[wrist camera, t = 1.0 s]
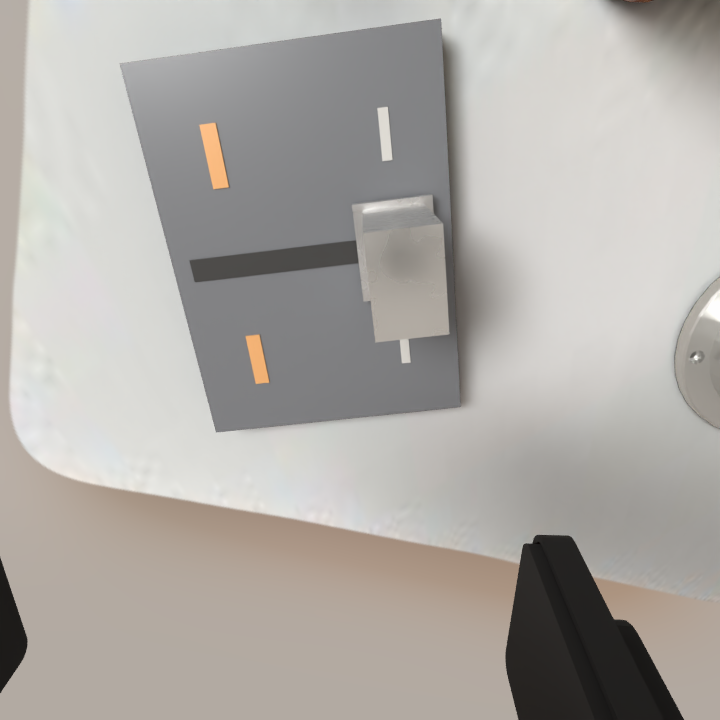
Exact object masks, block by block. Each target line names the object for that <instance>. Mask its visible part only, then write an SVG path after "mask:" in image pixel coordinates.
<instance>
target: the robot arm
mask: <svg viewBox="0 0 720 720" xmlns="http://www.w3.org/2000/svg"><path fill="white" fill-rule="evenodd" d="M675 373H676V378H677V382H678V385H679V389H680V391H681V393H682V395H683V396H684V398H685V400H686V402H687V403H688V404H689V405H690V406H691V407H692V409H693V410H694V411H695V412H696V413H697V414H698V415H700V416H701V417H702V418H704V419H705V420H706V421H708V422H709V423H710V424H711V425H713V426H715V427H717V428H719V429H720V277H719V278H718V279H717V280H716V281H715V282H714V283H713V284H711V285H710V286H709V288H708V289H707V290H706V291H705V293H704V294H703V295H702V296H701V297H700V299H699V300H698V301H697V302H696V304H695V305H694V307H693V309H692V310H691V312H690V314H689V315H688V317H687V319H686V320H685V323H684V325H683V328H682V331H681V333H680V336H679V338H678V343H677V349H676V354H675ZM26 649H27V636H26V634H25V630H24V627H23V625H22V622H21V618H20V615H19V612H18V609H17V606H16V603H15V600H14V597H13V594H12V591H11V588H10V585H9V582H8V579H7V577H6V574H5V571H4V567H3V564H2V561H1V559H0V693H1V691H2V690H3V688H4V687H5V685H6V684H7V682H8V681H9V679H10V678H11V676H12V675H13V673H14V672H15V670H16V669H17V668H18V666H19V665H20V663H21V661H22V660H23V658H24V655H25V653H26ZM506 669H507V675H508V679H509V683H510V687H511V691H512V695H513V699H514V703H515V707H516V711H517V715H518V719H519V720H684V719H683V717H682V715H681V713H680V711H679V710H678V708H677V706H676V704H675V702H674V700H673V698H672V697H671V695H670V693H669V691H668V689H667V687H666V685H665V684H664V682H663V680H662V678H661V676H660V674H659V672H658V670H657V669H656V667H655V665H654V663H653V661H652V659H651V657H650V655H649V654H648V652H647V650H646V648H645V646H644V644H643V642H642V640H641V639H640V637H639V635H638V633H637V632H636V630H635V629H634V627H633V626H632V625H631V624H629V623H628V622H627V621H625V620H614V619H613V617H612V615H611V613H610V611H609V609H608V607H607V605H606V603H605V601H604V599H603V597H602V595H601V594H600V591H599V589H598V587H597V585H596V583H595V581H594V579H593V577H592V575H591V573H590V571H589V569H588V567H587V565H586V563H585V561H584V559H583V557H582V555H581V553H580V551H579V549H578V547H577V545H576V543H575V542H574V540H573V538H572V537H570V536H559V535H536V536H535V537H534V540H533V543H532V544H524V545H523V549H522V554H521V560H520V567H519V573H518V579H517V585H516V592H515V598H514V604H513V610H512V616H511V622H510V628H509V635H508V641H507V647H506Z"/></svg>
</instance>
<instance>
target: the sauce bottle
mask: <svg viewBox="0 0 720 720" xmlns="http://www.w3.org/2000/svg"><path fill="white" fill-rule="evenodd" d="M624 1H628V2H650V1H653V0H624Z"/></svg>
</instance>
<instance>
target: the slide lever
mask: <svg viewBox="0 0 720 720" xmlns="http://www.w3.org/2000/svg"><path fill="white" fill-rule="evenodd" d="M352 211H353V219H354V227H355V236H356V244H357V252H358V260H359V269H360V277H361V285H362V293H363V301H364V302H365V301H371V309H372V317H373V326H374V334H375V343H376V342H385V341H394V340H403V339H412V338H421V337H430V336H439V335H448V334H449V318H448V301H447V283H446V265H445V248H444V230H443V223H442V222H441V221H440V220H439V219H438V218H437V217H436V216H435V215H434V211H433V195H432V194H426V195H418V196H410V197H402V198H394V199H386V200H378V201H370V202H362V203H353V204H352Z"/></svg>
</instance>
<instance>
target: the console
mask: <svg viewBox="0 0 720 720" xmlns="http://www.w3.org/2000/svg"><path fill="white" fill-rule="evenodd" d="M120 67H121V71H122V74H123V78H124V82H125V86H126V90H127V93H128V97H129V101H130V105H131V109H132V113H133V116H134V120H135V124H136V128H137V132H138V136H139V139H140V143H141V147H142V151H143V155H144V158H145V162H146V166H147V170H148V174H149V178H150V181H151V185H152V189H153V193H154V197H155V200H156V204H157V208H158V212H159V216H160V220H161V223H162V227H163V231H164V235H165V239H166V243H167V246H168V250H169V254H170V258H171V262H172V265H173V269H174V273H175V277H176V281H177V285H178V288H179V292H180V296H181V300H182V304H183V307H184V311H185V315H186V319H187V323H188V327H189V330H190V334H191V338H192V342H193V346H194V350H195V353H196V357H197V361H198V365H199V369H200V372H201V376H202V380H203V384H204V388H205V392H206V395H207V399H208V403H209V407H210V411H211V414H212V418H213V422H214V426H215V430H216V432H225V431H234V430H244V429H254V428H263V427H273V426H283V425H292V424H302V423H312V422H321V421H331V420H340V419H350V418H360V417H369V416H379V415H389V414H398V413H408V412H418V411H427V410H437V409H447V408H456V407H461V405H460V385H459V365H458V345H457V325H456V306H455V286H454V266H453V246H452V226H451V207H450V187H449V167H448V147H447V127H446V108H445V88H444V68H443V48H442V28H441V19H434V20H426V21H419V22H412V23H405V24H398V25H391V26H384V27H377V28H370V29H362V30H355V31H348V32H341V33H334V34H327V35H320V36H313V37H305V38H298V39H291V40H284V41H277V42H270V43H263V44H256V45H248V46H241V47H234V48H227V49H220V50H213V51H206V52H199V53H192V54H184V55H177V56H170V57H163V58H156V59H149V60H142V61H135V62H127V63H120ZM426 194H432V195H433V211H434V215H435V216H436V217H437V218H438V219H439V220H440V221H441V222H442V223H443V230H444V248H445V265H446V283H447V301H448V318H449V334H448V335H439V336H430V337H421V338H412V339H403V340H394V341H385V342H376V343H375V334H374V326H373V317H372V309H371V301H365V302H364V301H363V293H362V285H361V277H360V269H359V260H358V252H357V244H356V236H355V227H354V219H353V211H352V204H353V203H362V202H370V201H378V200H386V199H394V198H402V197H410V196H418V195H426Z"/></svg>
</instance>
